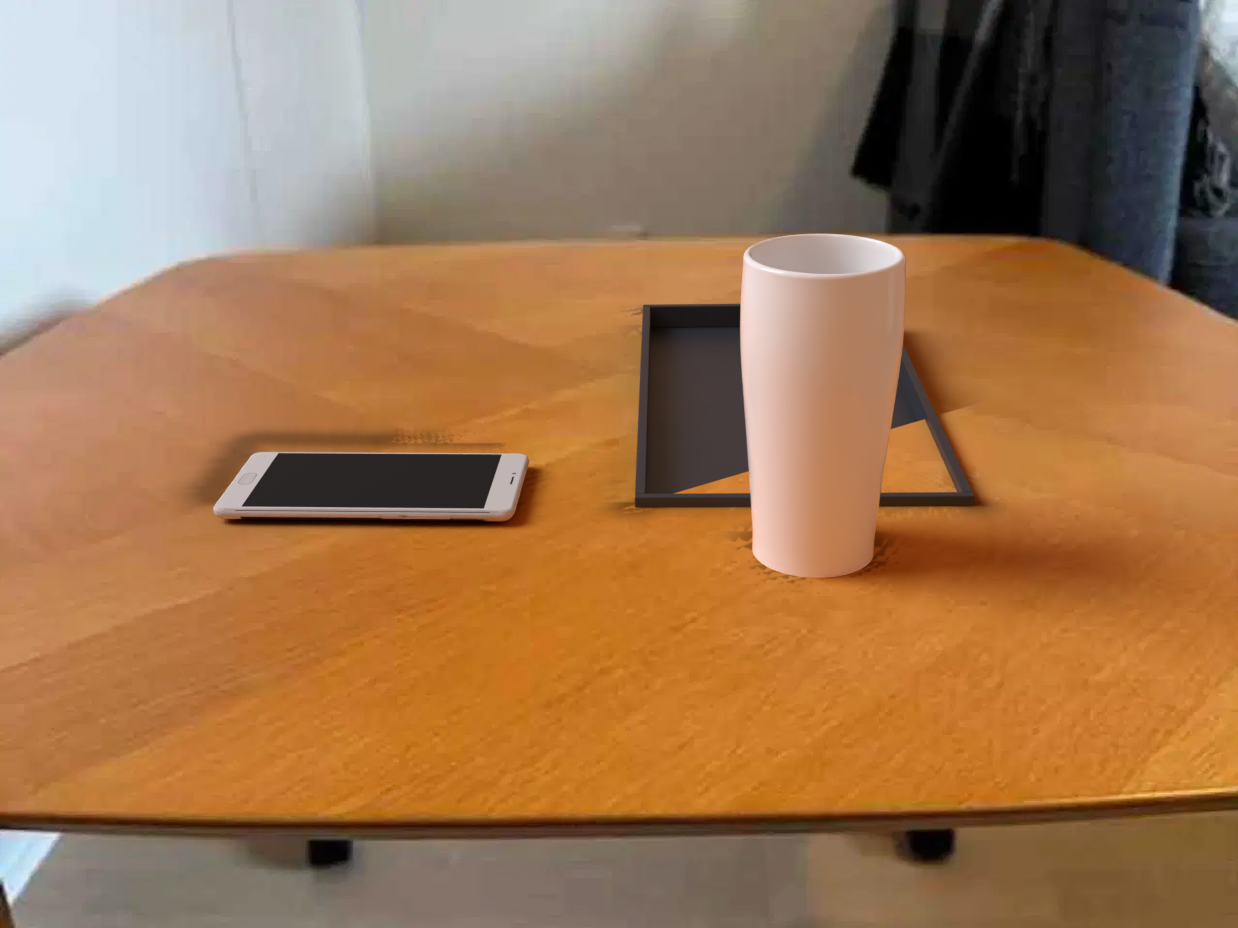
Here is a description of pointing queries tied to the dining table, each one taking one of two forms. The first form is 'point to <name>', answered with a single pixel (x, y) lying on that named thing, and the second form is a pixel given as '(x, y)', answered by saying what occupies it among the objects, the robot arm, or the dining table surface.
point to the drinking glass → (819, 395)
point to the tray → (730, 412)
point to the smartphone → (376, 486)
